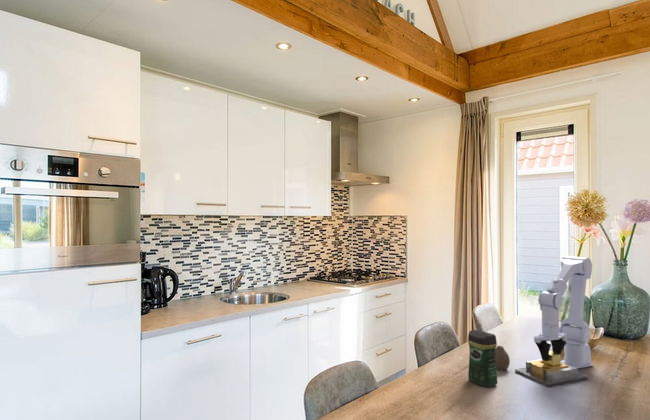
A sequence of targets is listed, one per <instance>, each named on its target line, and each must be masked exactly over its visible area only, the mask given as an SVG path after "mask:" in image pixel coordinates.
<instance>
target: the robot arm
mask: <svg viewBox="0 0 650 420" xmlns="http://www.w3.org/2000/svg"><path fill="white" fill-rule="evenodd" d="M560 268H561V269H560V271H559V273H558V275H557V278H553V279H552V280H551V281H550V283H549V285H548V286H547V288H546V290H545V291H543V292H540V293H539V296H538V304H539V310H540V311H541V332H539V334H538V335H535V336H533V341H534V343H535V345H536V346H537V348H538V351H539V353H540V357H541V359H542V360H544V361H548V359H549V351H552V352H555V353H558V354H560V355H561V354H562V351H563V355H564V356H563V360H561V363H564V364H566V365H569V366H572V367H574V368H577V370H579V369H583V368H587V367H593V366H594V364H592V362H591V361H592V359H591V358H592V354H591V353H592V352H591V351H592V350H591V347H590V345H589V342H590V339H591V333H590V326H589V324H588V323H587V322H586V321H585V320H583V316H584V304H585V298H586V297H585V296H586V289H587V281H588V280H589V279H591V276H592V273H593V271H592V270H593V263H592V260H591V258H590V257H588V256H586V257H582V256H572V255H571V256H569V255H568V256H567V255H563V256H562V257H561V259H560ZM570 279H571V280H572V281H571V290H570V298H569V308H568V314H567V315H568V316H567V317H565V318H564V319H562V320H561V321H560V308H561V307H562V304H563V299H564V297H563V296H564V294H565V292H566V291H567V289H568V284H567V283H568V282H569V280H570ZM548 342H550V343H548ZM550 349H552V350H550Z"/></svg>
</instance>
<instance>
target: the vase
mask: <svg viewBox="0 0 650 420" xmlns="http://www.w3.org/2000/svg"><path fill="white" fill-rule="evenodd" d="M495 361H496V371H500V372H501V371H502V372H504V371H506V370H508V369H509V367H510V364H511V363H510V362H511V360H510V356H509V353H508V352H507V351H506V350H505V347H504V346H503V345H497V346H496V349H495Z"/></svg>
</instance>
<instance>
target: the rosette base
mask: <svg viewBox="0 0 650 420" xmlns="http://www.w3.org/2000/svg"><path fill="white" fill-rule="evenodd" d="M514 372H515V373H516V374H519V375H521V376H523V377H525V378H527V379H530V380H531V381H535V382H537V383H538V384H540V385H543V386H545V387H547V388H552V387H553V388H554V387H556V386H557V387H558V386H563V385H566V384H567V385H568V384H571V383H576V382H577V383H578V382H581V381H587V380H589V376H588V375H585V374H583V373H580V372H578V369H577V368H574V367H572V366H569V365H566V364H564V363H561V365H560V366H554V367H551V366H548V365H546V364H543V360H542V358H539V359H533V360H528V361H525V367H522V368H517V369H516V368H515V370H514Z"/></svg>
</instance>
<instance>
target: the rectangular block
mask: <svg viewBox="0 0 650 420" xmlns="http://www.w3.org/2000/svg"><path fill="white" fill-rule="evenodd" d="M561 361H562V360H561V355H560V354H558V353H555V352H553V350H549V359H548V361H544V360H543V364H546V365H548V366H551V367H554V366H560V365H561Z"/></svg>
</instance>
